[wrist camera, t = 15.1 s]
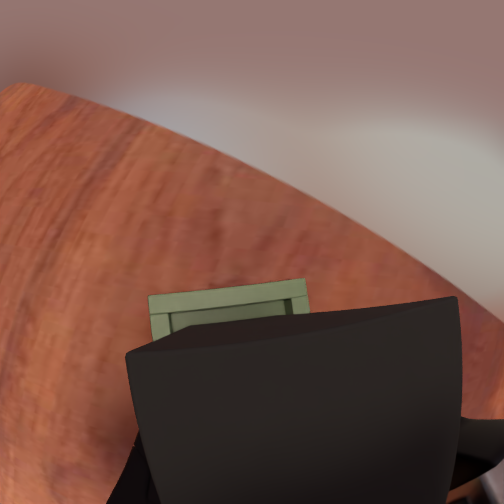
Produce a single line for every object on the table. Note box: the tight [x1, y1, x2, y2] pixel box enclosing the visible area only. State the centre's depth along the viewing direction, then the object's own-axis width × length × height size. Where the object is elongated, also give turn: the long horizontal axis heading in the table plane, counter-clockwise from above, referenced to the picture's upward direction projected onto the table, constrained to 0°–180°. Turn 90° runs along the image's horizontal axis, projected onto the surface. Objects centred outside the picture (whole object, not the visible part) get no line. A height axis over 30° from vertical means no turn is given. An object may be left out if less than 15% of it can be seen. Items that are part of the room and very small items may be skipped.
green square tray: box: [148, 278, 310, 341], centre depth 15 cm, size 8×8×2 cm
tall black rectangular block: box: [125, 296, 462, 504], centre depth 9 cm, size 5×5×13 cm
